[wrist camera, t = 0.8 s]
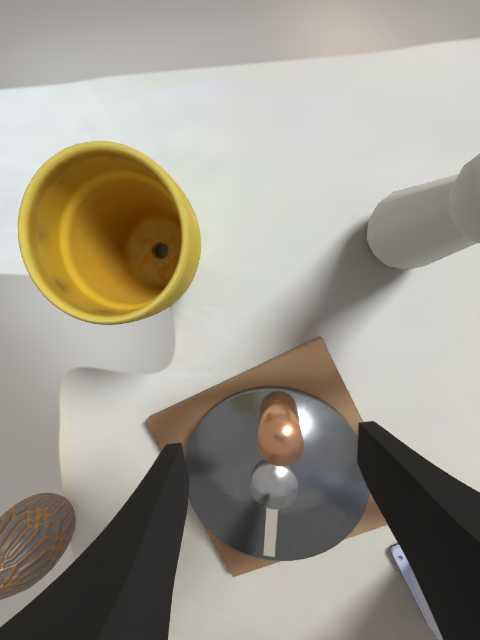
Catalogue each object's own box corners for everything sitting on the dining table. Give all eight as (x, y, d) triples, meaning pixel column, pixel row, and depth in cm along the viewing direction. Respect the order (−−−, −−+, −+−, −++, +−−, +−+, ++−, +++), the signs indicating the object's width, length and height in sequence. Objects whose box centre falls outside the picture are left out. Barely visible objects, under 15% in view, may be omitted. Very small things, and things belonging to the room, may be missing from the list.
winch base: (405, 507, 27) (410, 516, 26) (234, 567, 30) (233, 577, 29) (320, 336, 25) (321, 338, 24) (149, 416, 28) (145, 421, 27)
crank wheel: (356, 560, 27) (383, 651, 20) (186, 536, 28) (160, 613, 22) (375, 393, 24) (414, 436, 18) (189, 378, 26) (161, 412, 19)
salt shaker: (349, 261, 24) (435, 242, 12) (369, 190, 23) (486, 84, 11) (420, 276, 24) (591, 274, 11) (443, 205, 23) (659, 112, 10)
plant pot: (166, 164, 25) (99, 93, 15) (244, 257, 25) (226, 245, 16) (86, 246, 27) (-19, 228, 17) (160, 332, 27) (98, 361, 17)
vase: (81, 481, 30) (6, 561, 22) (90, 539, 31) (21, 639, 23) (22, 480, 31) (-74, 557, 23) (32, 537, 32) (-56, 632, 24)
